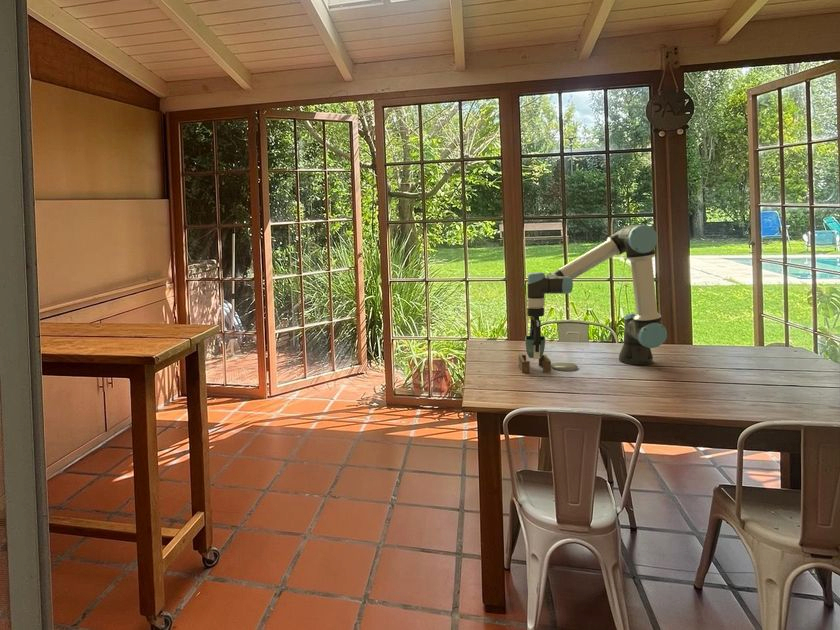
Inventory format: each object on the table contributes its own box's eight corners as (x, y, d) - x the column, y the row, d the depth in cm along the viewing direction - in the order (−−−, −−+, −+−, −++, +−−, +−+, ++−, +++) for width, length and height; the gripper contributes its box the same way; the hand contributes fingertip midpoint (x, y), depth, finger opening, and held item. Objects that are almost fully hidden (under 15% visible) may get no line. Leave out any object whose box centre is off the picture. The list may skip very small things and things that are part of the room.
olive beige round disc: (574, 364, 249) (574, 362, 249) (580, 371, 237) (580, 369, 237) (548, 364, 250) (548, 362, 250) (553, 371, 238) (553, 369, 238)
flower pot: (545, 359, 236) (545, 340, 235) (525, 359, 238) (525, 339, 237) (544, 355, 245) (544, 335, 243) (525, 354, 247) (525, 335, 245)
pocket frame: (545, 365, 248) (545, 354, 247) (550, 372, 236) (550, 361, 235) (518, 365, 249) (518, 354, 248) (521, 372, 237) (522, 361, 236)
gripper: (523, 303, 248) (523, 350, 252) (530, 311, 227) (530, 362, 231) (540, 303, 248) (539, 350, 252) (548, 310, 227) (547, 362, 231)
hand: (534, 356), depth 241 cm, fingers closed on flower pot, 9 cm apart
